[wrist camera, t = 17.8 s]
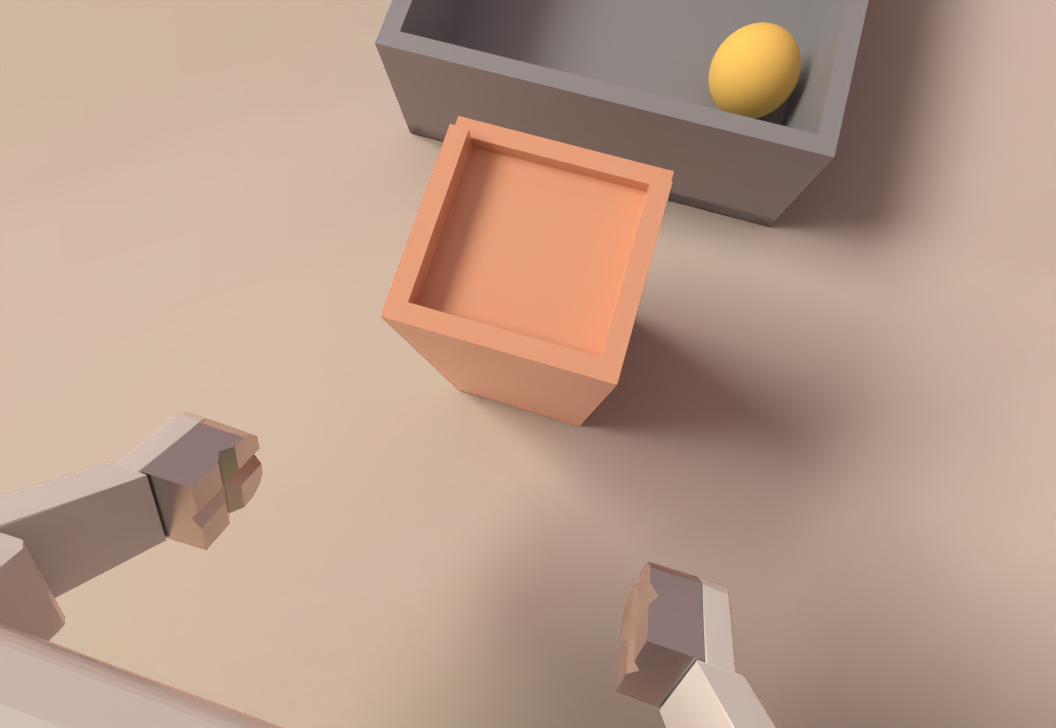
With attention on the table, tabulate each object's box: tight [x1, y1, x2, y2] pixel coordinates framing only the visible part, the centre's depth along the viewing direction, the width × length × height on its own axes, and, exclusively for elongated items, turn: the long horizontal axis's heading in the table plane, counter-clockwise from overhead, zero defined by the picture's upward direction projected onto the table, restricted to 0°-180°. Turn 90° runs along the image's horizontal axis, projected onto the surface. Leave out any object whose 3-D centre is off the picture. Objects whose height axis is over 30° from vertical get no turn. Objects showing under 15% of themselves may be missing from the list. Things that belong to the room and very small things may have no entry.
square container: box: [381, 116, 674, 426], centre depth 15 cm, size 4×4×10 cm
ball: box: [709, 22, 801, 119], centre depth 19 cm, size 3×3×3 cm
